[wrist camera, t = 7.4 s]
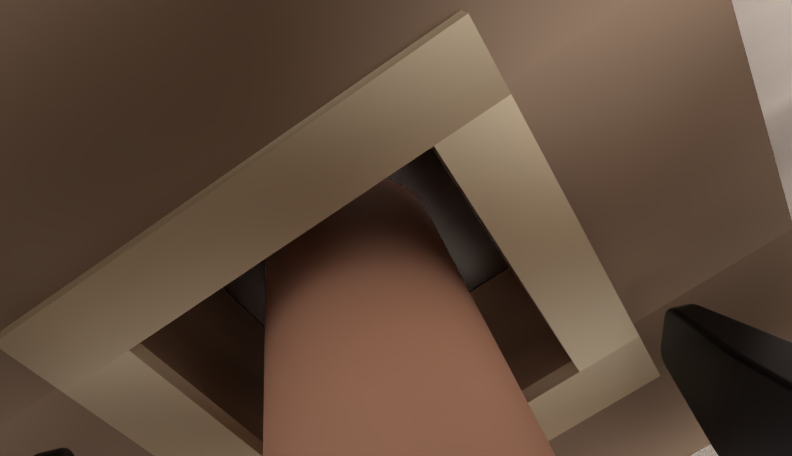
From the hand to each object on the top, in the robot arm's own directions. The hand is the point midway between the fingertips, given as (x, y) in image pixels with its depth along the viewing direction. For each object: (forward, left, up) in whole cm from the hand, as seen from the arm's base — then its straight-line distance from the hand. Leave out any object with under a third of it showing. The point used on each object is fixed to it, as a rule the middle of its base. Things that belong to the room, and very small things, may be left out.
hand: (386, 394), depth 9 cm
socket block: (0, 0, -4) cm, 4 cm away
